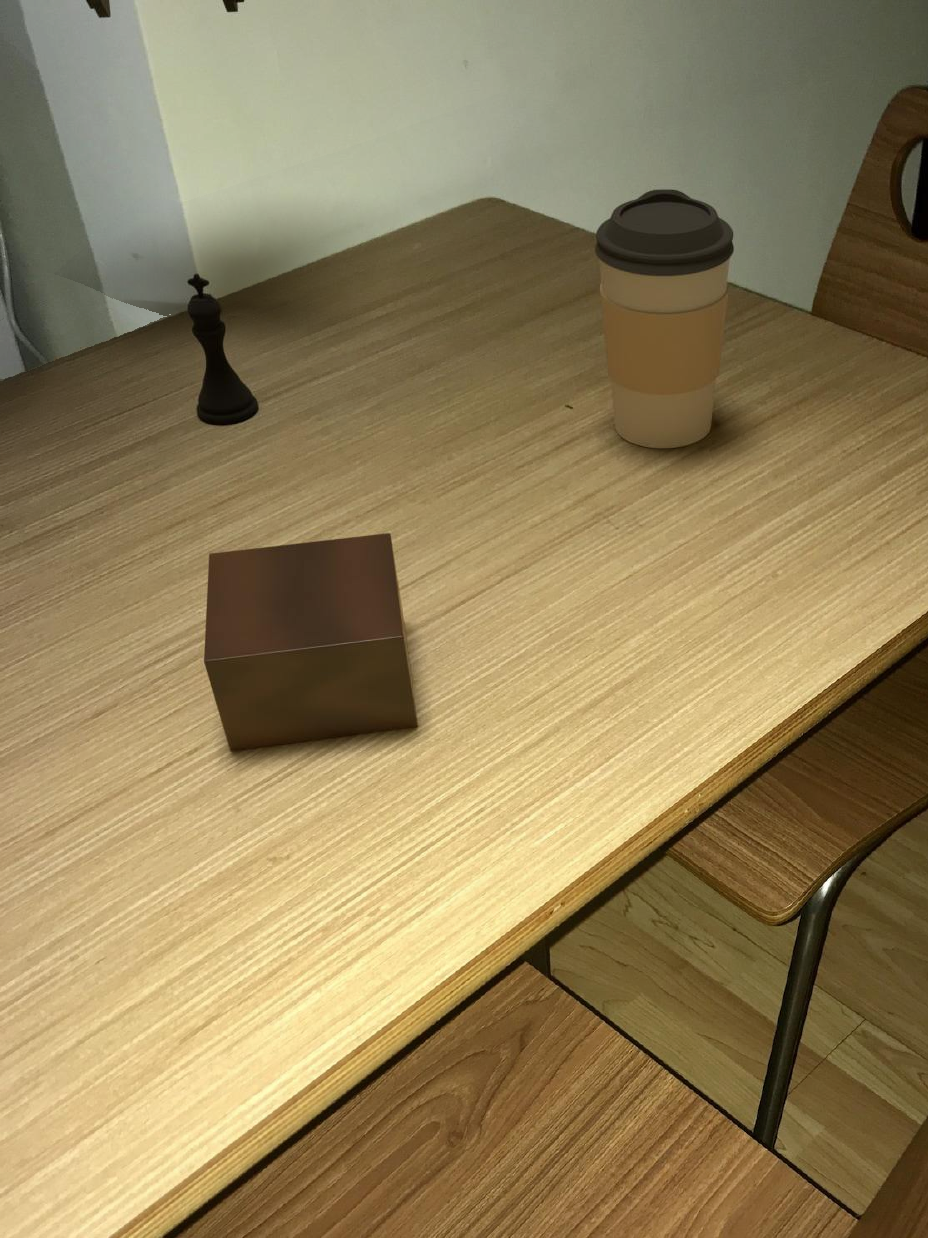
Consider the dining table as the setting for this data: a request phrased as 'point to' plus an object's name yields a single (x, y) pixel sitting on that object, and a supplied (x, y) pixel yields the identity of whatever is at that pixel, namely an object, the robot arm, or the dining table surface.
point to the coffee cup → (664, 314)
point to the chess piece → (217, 363)
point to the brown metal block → (307, 642)
